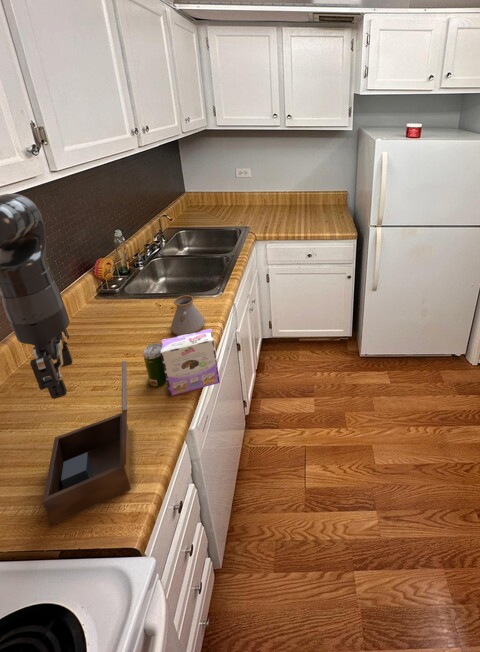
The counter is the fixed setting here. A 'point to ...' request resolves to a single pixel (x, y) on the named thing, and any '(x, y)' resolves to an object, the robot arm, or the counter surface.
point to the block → (76, 470)
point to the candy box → (190, 361)
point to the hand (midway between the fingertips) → (63, 379)
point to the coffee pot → (186, 317)
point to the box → (106, 468)
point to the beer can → (154, 365)
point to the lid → (124, 412)
